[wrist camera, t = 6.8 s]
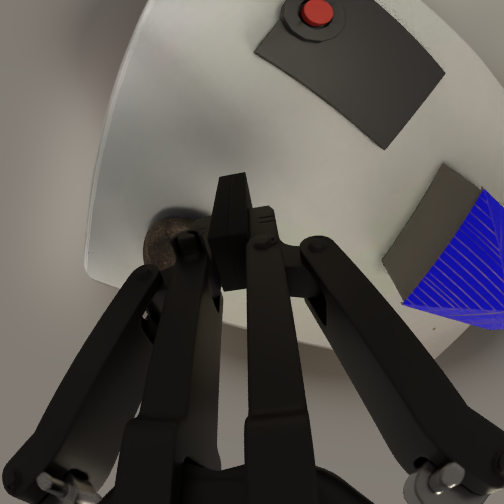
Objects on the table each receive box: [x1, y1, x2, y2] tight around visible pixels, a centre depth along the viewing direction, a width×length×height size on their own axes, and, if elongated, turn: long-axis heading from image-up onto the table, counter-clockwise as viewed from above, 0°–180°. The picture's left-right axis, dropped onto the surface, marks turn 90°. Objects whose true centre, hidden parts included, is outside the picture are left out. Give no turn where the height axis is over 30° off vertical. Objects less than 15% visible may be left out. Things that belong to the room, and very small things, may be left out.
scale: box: [254, 0, 445, 150], centre depth 21 cm, size 17×12×4 cm
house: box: [382, 163, 504, 330], centre depth 29 cm, size 25×16×16 cm, turn 69°
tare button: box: [301, 0, 333, 26], centre depth 17 cm, size 2×2×2 cm
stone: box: [143, 217, 222, 287], centre depth 33 cm, size 11×11×5 cm
